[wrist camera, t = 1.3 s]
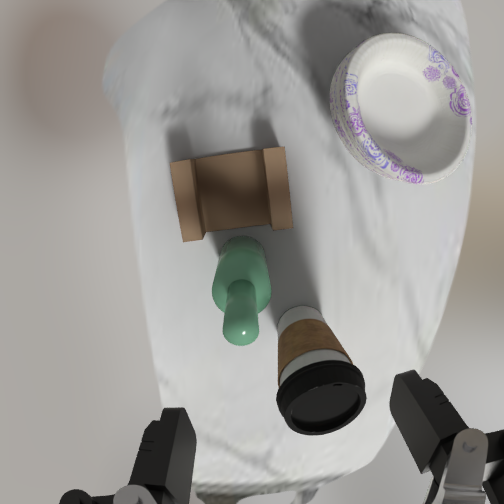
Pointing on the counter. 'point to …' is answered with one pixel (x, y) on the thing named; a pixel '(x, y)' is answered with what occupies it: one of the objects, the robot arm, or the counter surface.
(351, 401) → the coffee cup
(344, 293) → the counter surface
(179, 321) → the counter surface
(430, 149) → the paper bowls
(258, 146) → the counter surface
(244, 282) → the bottle
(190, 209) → the cradle
